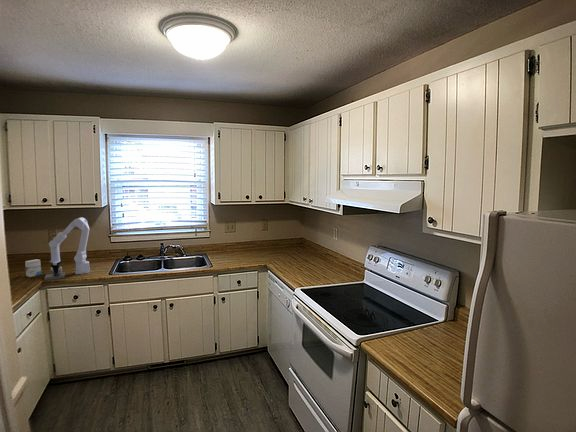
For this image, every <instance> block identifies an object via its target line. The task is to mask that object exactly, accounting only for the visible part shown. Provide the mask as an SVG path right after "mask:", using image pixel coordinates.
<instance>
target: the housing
mask: <svg viewBox="0 0 576 432" xmlns="http://www.w3.org/2000/svg"><path fill="white" fill-rule="evenodd" d="M58 273H63V267H62V266H59V268H58ZM50 274H54V271H53V268H52V267H50Z"/></svg>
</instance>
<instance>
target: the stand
mask: <svg viewBox="0 0 576 432" xmlns="http://www.w3.org/2000/svg"><path fill="white" fill-rule="evenodd" d="M65 275H66V272H62V273H54V274H51V273H48V274H45V276H44V277H43V278H44V281H53V280H61V279H64V278H65V277H66V276H65Z"/></svg>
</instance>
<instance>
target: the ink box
mask: <svg viewBox="0 0 576 432" xmlns="http://www.w3.org/2000/svg"><path fill="white" fill-rule="evenodd" d="M24 265H25V274H26V275H25V276H26V277H28V278H32V277H35V276H40V275H42V265H41V259H31V260H25V264H24Z"/></svg>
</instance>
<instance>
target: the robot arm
mask: <svg viewBox="0 0 576 432" xmlns="http://www.w3.org/2000/svg"><path fill="white" fill-rule="evenodd" d="M75 228H79V230H80V231H81V234H80V238H79V244H78V248H77V249H78V250H77V251H76V254H75V255H74V257H73V260H74V262H75V273H74V274H75V275H81V274H82V275H83V274H89V273H90V271H91V268H90V261H88V260H86V259H87V256H88V255H87V244H88V239H89V235H90V226H89V223H88V220H87V218H85V217H82V216H81V217H78V218H75V219H73V221H71V222H70V223H69V224H68V226H66V228H65V229H64V230H63V231H62V232H61V231H60V232H58V233H56V236H55V237H53V238H52V240H50V241H49V242H48V246H49V247H50V260H49V263H51V264H50V266H51V267H50V268H53V271H54V273H58V268H59V267H60V264H61V262H62V261H61V252H60V251H61V250H60V246H61V243H62V242H63V241H64V240H65V239H66V238H67V235H68V234H69V233H70V232H71V231H72V230H73V229H75Z"/></svg>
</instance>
